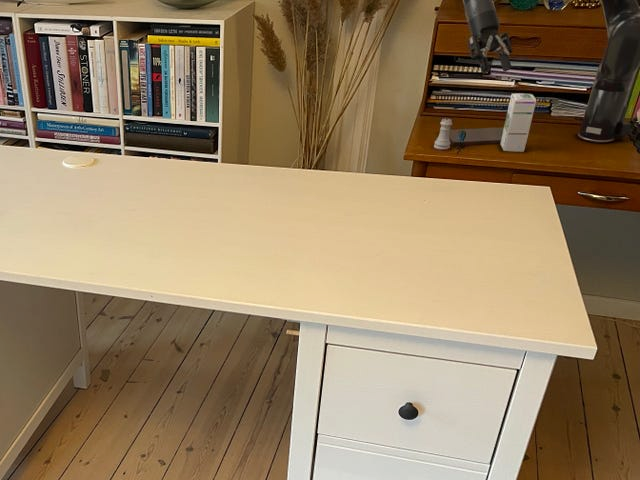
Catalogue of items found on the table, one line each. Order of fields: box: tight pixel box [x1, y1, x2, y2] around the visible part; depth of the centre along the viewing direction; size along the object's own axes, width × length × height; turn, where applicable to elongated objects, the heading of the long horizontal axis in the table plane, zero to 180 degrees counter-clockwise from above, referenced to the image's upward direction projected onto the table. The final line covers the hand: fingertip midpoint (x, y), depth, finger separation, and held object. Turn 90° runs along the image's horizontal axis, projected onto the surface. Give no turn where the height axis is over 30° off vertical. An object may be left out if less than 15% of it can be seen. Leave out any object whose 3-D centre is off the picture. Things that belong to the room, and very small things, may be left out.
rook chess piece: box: [433, 118, 453, 151], centre depth 209 cm, size 4×4×8 cm
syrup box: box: [499, 92, 537, 153], centre depth 205 cm, size 6×6×14 cm
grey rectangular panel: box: [449, 126, 504, 147], centre depth 217 cm, size 20×11×1 cm, turn 93°
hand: (497, 71), depth 207 cm, fingers open, 8 cm apart
